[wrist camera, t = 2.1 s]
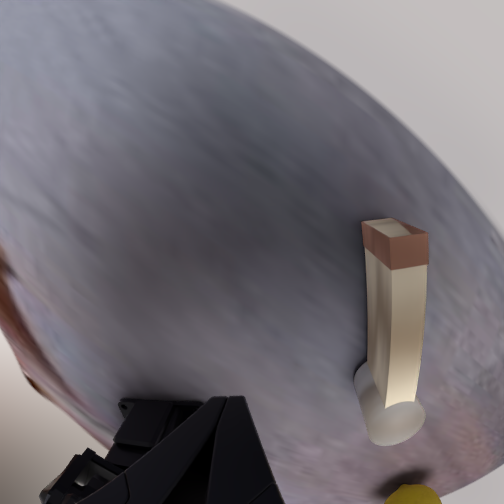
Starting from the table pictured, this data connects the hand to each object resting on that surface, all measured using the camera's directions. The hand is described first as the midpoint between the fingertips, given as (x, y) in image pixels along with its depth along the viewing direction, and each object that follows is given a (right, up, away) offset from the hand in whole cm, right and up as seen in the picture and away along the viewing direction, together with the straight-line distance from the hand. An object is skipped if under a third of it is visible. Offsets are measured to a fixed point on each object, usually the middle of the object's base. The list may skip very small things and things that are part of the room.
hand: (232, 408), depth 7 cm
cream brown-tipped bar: (+7, 0, +8) cm, 11 cm away
